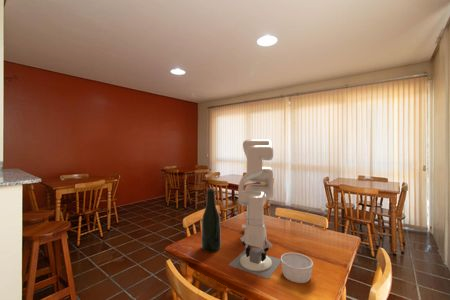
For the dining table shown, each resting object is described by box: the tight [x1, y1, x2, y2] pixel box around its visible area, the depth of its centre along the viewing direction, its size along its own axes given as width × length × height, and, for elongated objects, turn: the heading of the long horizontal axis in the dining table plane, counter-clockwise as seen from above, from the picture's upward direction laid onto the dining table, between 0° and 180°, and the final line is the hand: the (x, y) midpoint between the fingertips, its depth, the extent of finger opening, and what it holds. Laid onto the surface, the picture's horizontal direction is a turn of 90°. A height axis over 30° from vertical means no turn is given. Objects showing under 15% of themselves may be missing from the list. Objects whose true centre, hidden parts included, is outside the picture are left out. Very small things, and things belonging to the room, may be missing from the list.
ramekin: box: [280, 252, 314, 284], centre depth 92 cm, size 13×13×7 cm
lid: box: [240, 246, 272, 271], centre depth 103 cm, size 15×15×6 cm
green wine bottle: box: [201, 187, 222, 253], centre depth 118 cm, size 10×10×33 cm
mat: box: [228, 248, 281, 280], centre depth 103 cm, size 20×18×1 cm
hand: (255, 257), depth 103 cm, fingers open, 7 cm apart
